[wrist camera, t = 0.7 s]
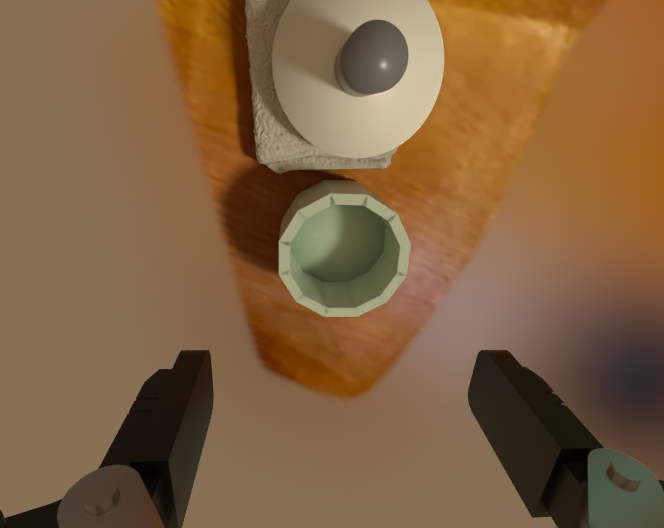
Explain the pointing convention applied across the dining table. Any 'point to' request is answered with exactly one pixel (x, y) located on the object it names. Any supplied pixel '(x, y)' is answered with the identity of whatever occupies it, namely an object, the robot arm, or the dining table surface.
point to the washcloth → (269, 118)
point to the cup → (342, 249)
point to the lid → (357, 72)
